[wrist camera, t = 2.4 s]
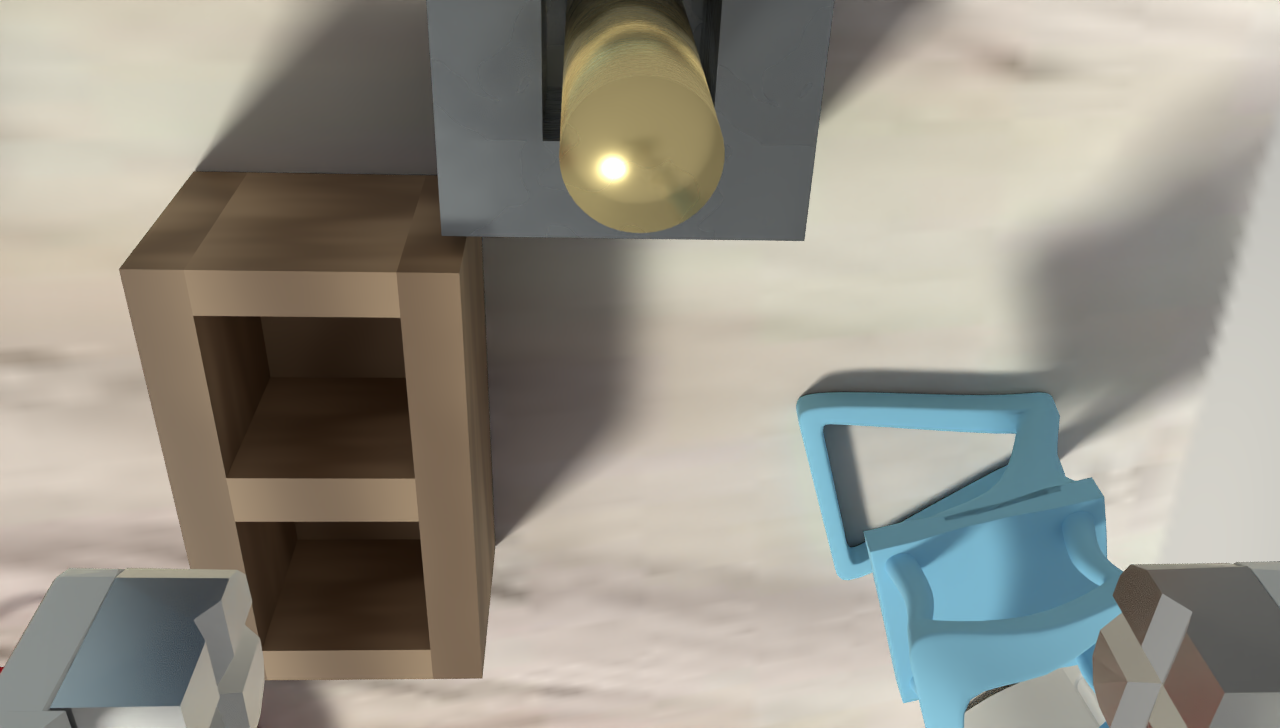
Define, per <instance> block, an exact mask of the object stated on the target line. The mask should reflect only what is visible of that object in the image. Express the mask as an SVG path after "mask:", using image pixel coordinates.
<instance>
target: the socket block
mask: <svg viewBox="0 0 1280 728" xmlns="http://www.w3.org/2000/svg"><path fill="white" fill-rule="evenodd" d="M426 3H427V18H428V34H429V49H430V65H431V80H432V95H433V111H434V126H435V142H436V157H437V172H438V188H439V203H440V219H441V234H442V236H478V237H552V238H627V239H701V240H776V241H804V239H805V231H806V223H807V215H808V207H809V199H810V191H811V183H812V175H813V167H814V159H815V151H816V143H817V135H818V127H819V119H820V111H821V103H822V95H823V87H824V80H825V72H826V64H827V56H828V48H829V40H830V32H831V24H832V16H833V8H834V0H683V4H684V7H685V10H686V14H687V17H688V20H689V24H690V27H691V31H692V34H693V37H694V41H695V44H696V47H697V51H698V54H699V58H700V61H701V64H702V68H703V71H704V74H705V78H706V81H707V85H708V88H709V91H710V95H711V98H712V102H713V105H714V108H715V112H716V115H717V118H718V122H719V125H720V129H721V132H722V136H723V140H724V148H725V158H724V166H723V171H722V174H721V178H720V181H719V183H718V185H717V187H716V189H715V191H714V193H713V194H712V196H711V197H710V199H709V200H708V201H707V202H706V204H705V205H704V206H703V207H702V208H701V209H700V210H699V211H698V212H697V213H695V214H694V215H693V216H691V217H690V218H689V219H687V220H685V221H684V222H682V223H680V224H678V225H676V226H673V227H671V228H668V229H665V230H661V231H656V232H650V233H631V232H625V231H620V230H616V229H613V228H610V227H608V226H605V225H603V224H601V223H599V222H598V221H596V220H594V219H593V218H591V217H590V216H589V215H587V214H586V213H585V212H584V211H583V210H582V209H581V208H580V207H579V206H578V205H577V204H576V203H575V201H574V200H573V198H572V197H571V196H570V194H569V192H568V190H567V188H566V186H565V184H564V181H563V178H562V174H561V170H560V162H559V148H560V127H561V106H562V85H563V64H564V44H565V23H566V4H567V0H426Z"/></svg>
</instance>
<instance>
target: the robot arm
mask: <svg viewBox="0 0 1280 728" xmlns="http://www.w3.org/2000/svg"><path fill="white" fill-rule="evenodd" d="M1113 597H1114V599H1115V601H1116V603H1117V604H1118V606H1119V608H1120V610H1121V612H1122V613H1121V614H1119V615H1118V616H1117V617H1116V618H1114V619H1113V620H1112V621H1111V622H1109V623H1108V624H1107V625H1106V626H1104V627H1103V628H1102V629H1101V630H1100V632H1099V636H1098V639H1097V642H1096V645H1095V649H1094V652H1093V655H1092V661H1093V686H1094V689H1095V693H1096V694H1095V693H1094V691H1093V690H1092V689H1091V687H1090V686H1089V685H1088V683H1087V682H1086V680H1085V679H1084V677H1083V676H1082V674H1081V671H1080V669H1079V667H1078V665H1075V666H1070V667H1063V668H1058V669H1056V670H1054V671H1053V672H1051V673H1049V674H1047V675H1044V676H1040V677H1037V678H1033V679H1030V680H1027V681H1023V682H1020V683H1018V684H1015V685H1013V686H1011V687H1008V688H1006V689H1004V690H1002V691H1000V692H998V693H996V694H994V695H992V696H990V697H989V698H987V699H985V700H983V701H982V702H980V703H978V704H977V705H975V706H974V707H972V708H971V709H969V710H968V711H966V712H965V714H964V728H1099V727H1100V726H1101V725H1102V724H1103V723H1104V722H1107V724H1108V726H1109V728H1280V561H1279V562H1236V563H1234V564H1230V563H1197V564H1131V565H1130V566H1129V567H1128V568H1127V569H1126V570H1125V571H1124V572H1123V573H1122V574H1121V575H1120V577H1119V579H1118V582H1117V585H1116V587H1115V590H1114V593H1113ZM251 604H252V598H251V594H250V590H249V586H248V582H247V578H246V575H245V574H244V573H242V572H240V571H239V570H217V569H160V568H126V569H92V568H69V569H67V570H66V571H65V572H63V573H62V574H60V575H59V576H58V577H57V578H56V579H55V580H54V581H53V582H52V584H51V586H50V588H49V589H48V591H47V593H46V595H45V596H44V598H43V600H42V602H41V603H40V605H39V607H38V609H37V610H36V612H35V614H34V616H33V617H32V619H31V621H30V622H29V624H28V626H27V628H26V629H25V631H24V633H23V635H22V636H21V638H20V640H19V642H18V643H17V645H16V647H15V649H14V650H13V652H12V654H11V656H10V657H9V659H8V661H7V662H6V664H5V666H4V668H3V669H2V671H1V673H0V728H257V725H258V722H259V718H260V714H261V707H262V699H263V690H264V682H265V680H264V657H263V652H262V647H261V641H260V637H259V636H257V635H256V634H255V633H254V632H253V631H252V630H250V629H249V628H248V627H247V626H246V625H245V622H246V619H247V616H248V613H249V610H250V607H251Z"/></svg>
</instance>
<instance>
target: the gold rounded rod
mask: <svg viewBox="0 0 1280 728" xmlns="http://www.w3.org/2000/svg"><path fill="white" fill-rule="evenodd" d="M724 158H725V148H724V140H723V136H722V132H721V129H720V125H719V122H718V118H717V115H716V112H715V108H714V105H713V102H712V98H711V95H710V91H709V88H708V85H707V81H706V78H705V74H704V71H703V68H702V64H701V61H700V58H699V54H698V51H697V47H696V44H695V41H694V37H693V34H692V31H691V27H690V24H689V20H688V17H687V14H686V10H685V7H684V4H683V0H567V4H566V23H565V44H564V64H563V85H562V106H561V127H560V148H559V162H560V170H561V174H562V178H563V181H564V184H565V186H566V188H567V190H568V192H569V194H570V196H571V197H572V198H573V200H574V201H575V203H576V204H577V205H578V206H579V207H580V208H581V209H582V210H583V211H584V212H585V213H586V214H587V215H589V216H590V217H591V218H593V219H594V220H596V221H598V222H599V223H601V224H603V225H605V226H608V227H610V228H613V229H616V230H620V231H625V232H631V233H650V232H656V231H661V230H665V229H668V228H671V227H673V226H676V225H678V224H680V223H682V222H684V221H685V220H687V219H689V218H690V217H691V216H693V215H694V214H695V213H697V212H698V211H699V210H700V209H701V208H702V207H703V206H704V205H705V204H706V202H707V201H708V200H709V199H710V197H711V196H712V194H713V193H714V191H715V189H716V187H717V185H718V183H719V181H720V178H721V174H722V171H723V166H724Z"/></svg>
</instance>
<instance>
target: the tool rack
mask: <svg viewBox="0 0 1280 728" xmlns="http://www.w3.org/2000/svg"><path fill="white" fill-rule="evenodd" d="M119 271H120V275H121V280H122V284H123V288H124V292H125V296H126V301H127V305H128V309H129V313H130V317H131V322H132V326H133V330H134V334H135V338H136V343H137V347H138V351H139V355H140V359H141V364H142V368H143V372H144V376H145V380H146V385H147V389H148V393H149V397H150V401H151V406H152V410H153V414H154V418H155V422H156V427H157V431H158V435H159V439H160V443H161V448H162V452H163V456H164V460H165V464H166V469H167V473H168V477H169V481H170V485H171V490H172V494H173V498H174V502H175V506H176V510H177V515H178V519H179V523H180V527H181V531H182V536H183V540H184V544H185V548H186V552H187V557H188V561H189V565H190V569H217V570H239V571H240V572H242V573H244V574H245V575H246V578H247V582H248V586H249V590H250V594H251V598H252V604H251V607H250V610H249V613H248V616H247V619H246V622H245V625H246V626H247V627H248V628H249V629H250V630H252V631H253V632H254V633H255V634H256V635H257V636H259V637H260V641H261V647H262V652H263V657H264V680H352V679H470V678H482V676H483V666H484V656H485V646H486V636H487V626H488V616H489V605H490V595H491V585H492V575H493V565H494V555H495V530H494V507H493V485H492V462H491V439H490V416H489V393H488V371H487V348H486V325H485V302H484V279H483V257H482V237H478V236H442V234H441V219H440V203H439V188H438V175H378V174H317V173H256V172H195V171H194V172H193V173H192V175H191V176H190V177H189V178H188V180H187V181H186V182H185V184H184V185H183V186H182V188H181V189H180V190H179V192H178V193H177V194H176V195H175V197H174V198H173V199H172V201H171V202H170V203H169V205H168V206H167V207H166V209H165V210H164V211H163V212H162V214H161V215H160V216H159V218H158V219H157V220H156V222H155V223H154V224H153V225H152V227H151V228H150V229H149V231H148V232H147V233H146V235H145V236H144V237H143V239H142V240H141V241H140V242H139V244H138V245H137V246H136V248H135V249H134V250H133V252H132V253H131V254H130V256H129V257H128V258H127V259H126V261H125V262H124V263H123V265H122V266H121V267H120V269H119Z"/></svg>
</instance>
